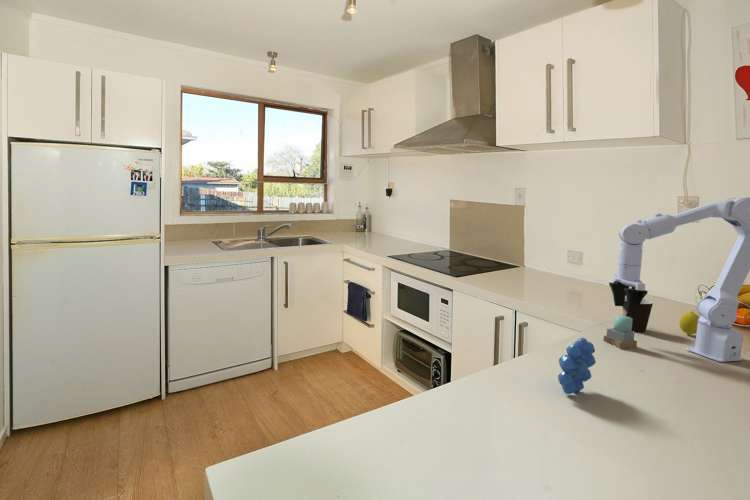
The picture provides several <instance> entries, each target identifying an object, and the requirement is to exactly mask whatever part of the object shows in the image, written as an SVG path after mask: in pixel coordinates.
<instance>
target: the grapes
mask: <svg viewBox="0 0 750 500" xmlns="http://www.w3.org/2000/svg"><path fill="white" fill-rule="evenodd" d="M565 350H566V354H563V355H561V356H560V357H559V358H558V364H559V366H560V368H561V369H560V370H562V372H559V374H558V375H557V379H558V382H559V384H560V386H561V387H562V388H561V389H562V390H563V392H564V394H566V395H571V394H573V393H579V392H580V391H582V390H583V389H584V388H585V386H584V383H585V382H587V381H590V379H591V378H592V374H591V371H590V369H589V368H591V367H593V366H594V365H595V364H596V358H595V356H594V355H593V354H594V353H595V352H596V349H595V346H594V344H593V343H592V342H591V341H588V339H586V338H585V337H580V338H578V339H577V340H576V341H574V343H571V344H570V345H568V347H566V349H565Z"/></svg>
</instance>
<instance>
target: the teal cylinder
mask: <svg viewBox="0 0 750 500" xmlns="http://www.w3.org/2000/svg"><path fill="white" fill-rule="evenodd" d="M632 320H633V319H632V318H630V317H627V316H623V315H615V316H614V324H613V325H614V326H613V328H614V330H615V331H617V332H621V333H631V330H632Z"/></svg>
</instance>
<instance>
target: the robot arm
mask: <svg viewBox="0 0 750 500" xmlns="http://www.w3.org/2000/svg"><path fill="white" fill-rule="evenodd" d="M709 218H719V219H723V220H724V221H725V222H727V223H728V224H730V225H731V226H732V227H733V229H734V231H736V232H737V239H736V241H735V243H734V245H733V247H732V249H731V250H730V253H729V254H728V257H727V259H726V262H725V264H724V266H723V267H722V269H721V271H720V274H719V275H718V277H717V280H716V281H715V284H714V286H713V288H711V289H709V290H708V291H707V293H706V295H705V296H703V298H701V300H699V301H698V303H697V305H696V311H697V313H698V314H699V317H700V318H699V319H698V325H697V333H695V334H696V335H695V343H694V347H688V348H687V347H686V349H685V350H686V351H689V352H692V353H694V354H697V355H699V356H700V355H701V356H703V357H705V358H708V359H711V360H713V361H717V362H719V363H726V362H727V363H729V362H736V361H743V358H741V357H742V350H743V349H742V348H743V341H744V339H743V334H742V333H741V331H739V330H737V329H735V328H734V327H732V326H733V324H734V323H735V322H736V321H737V319H738V312H737V311H738V307H739V302H740V301H739V296H738V295H739V293H740V290H741V289H742V286H743V285H744V282H745V280H746V279H747V277H748V274H749V273H750V197H739V198H735V197H731V198H727V199H725V200H718V201H711V202H709V203H706V204H703V205H700V206H697V207H695V208H691V209H689V210H685V211H682V212H680V213H676V214H673V215H670V214H667V213H660V212H659V213H658V212H657V213H655V214H654V216H652V217H650V218H647V219H643V220H641V219H638V220H636V223H628V224H625V225H624V226H623V227H622V228H621V229H620V231H619V233H618V236H619V239H620V248H619V252H618V253H619V254H618V266H617V274H613V275H612V282H608V285H609V287H610V290H611V292H612V295H613V296H612V297H613V303H614V307H623V305H624V301H625V298H627V311H628V312H629V313H636V312H637V310H638V308H639V305H640V303H641V301H642V299H644V298H645V296H646V295H648V293H649V292H648V290H646V283H644V282H643V281H642V280H641V270H642V260H643V251H644V250H643V244H644V242H645V241H646V240H651V239H655V238H658V237H661V236H664V235H668V234H672V233H673V232H675V230H676V229H677V227H679V226H682V225H686V224H690V223H693V222H697V221H700V220H704V219H709Z"/></svg>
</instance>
